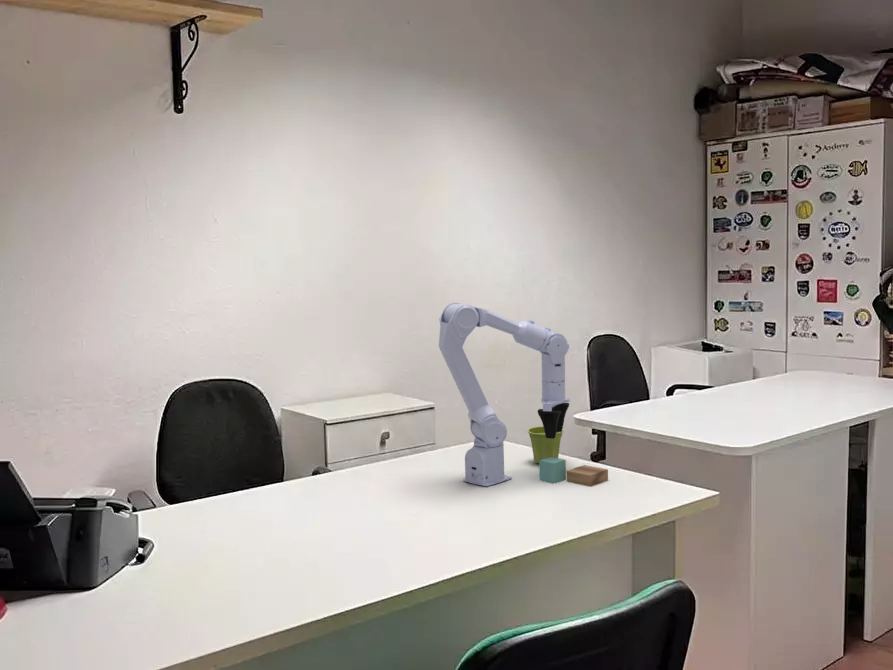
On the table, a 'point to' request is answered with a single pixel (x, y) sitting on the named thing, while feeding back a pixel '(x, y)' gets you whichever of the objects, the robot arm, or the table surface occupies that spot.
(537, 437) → the plant pot
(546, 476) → the teal cube
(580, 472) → the walnut slab
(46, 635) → the table surface
